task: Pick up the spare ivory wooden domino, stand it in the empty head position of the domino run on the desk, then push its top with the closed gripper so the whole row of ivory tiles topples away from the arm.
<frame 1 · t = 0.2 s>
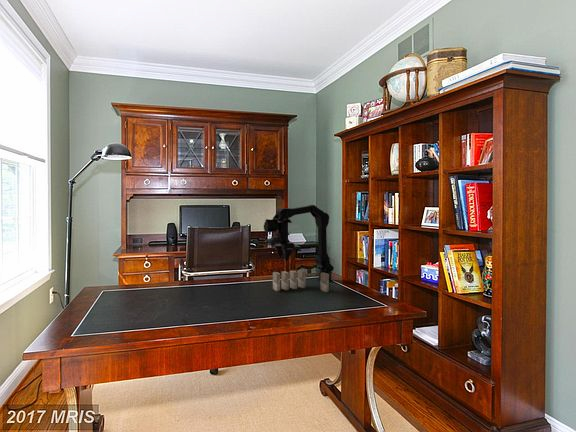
hand: (282, 259, 211), 14 cm above the table, fingers open, 9 cm apart
domino 4: (285, 289, 204), on the table
domino 3: (293, 288, 206), on the table
domino 2: (301, 287, 208), on the table
domino 1: (324, 290, 201), on the table
domino 5: (276, 290, 202), on the table
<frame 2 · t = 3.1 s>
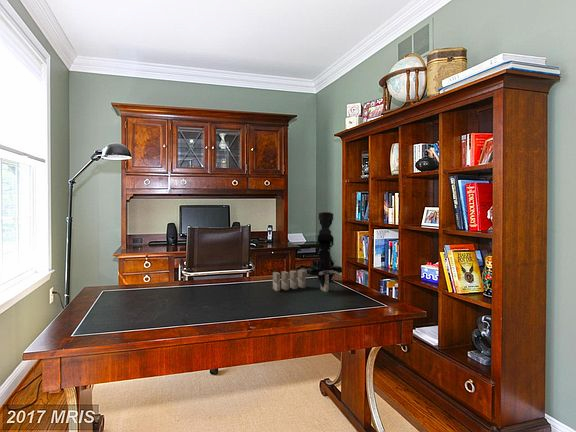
hand: (324, 286, 200), 2 cm above the table, fingers closed on domino 1, 2 cm apart
domino 1: (324, 290, 201), on the table, touching gripper
everything else where it was.
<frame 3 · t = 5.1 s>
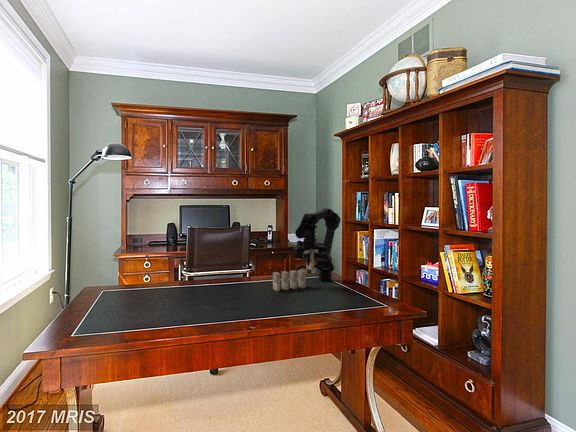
hand: (310, 265, 210), 11 cm above the table, fingers closed on domino 1
domino 1: (310, 269, 210), point 9 cm above the table, touching gripper
everything else where it was.
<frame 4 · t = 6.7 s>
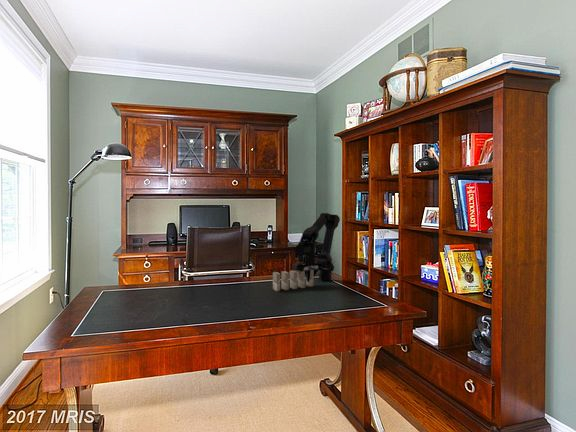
hand: (309, 281, 210), 2 cm above the table, fingers closed on domino 1, 2 cm apart
domino 2: (301, 286, 208), on the table, touching gripper
domino 1: (309, 285, 210), on the table, touching gripper
everything else where it was.
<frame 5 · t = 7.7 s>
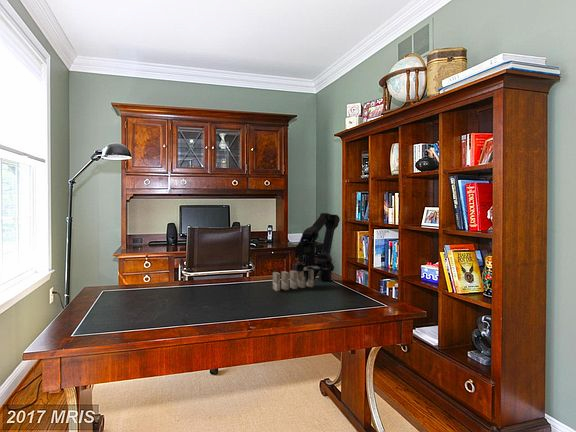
hand: (309, 281, 210), 2 cm above the table, fingers open, 4 cm apart
domino 2: (301, 286, 208), on the table, tilted 9°, touching gripper
domino 1: (309, 286, 210), on the table
everything else where it was.
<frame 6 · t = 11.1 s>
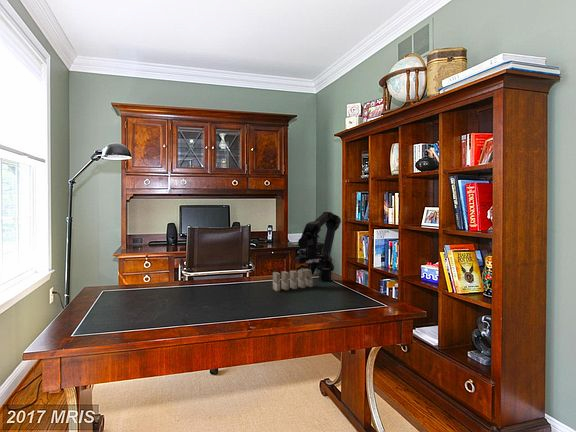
hand: (311, 274, 211), 6 cm above the table, fingers closed
domino 2: (301, 287, 208), on the table
domino 1: (309, 285, 210), on the table, tilted 10°
everything else where it was.
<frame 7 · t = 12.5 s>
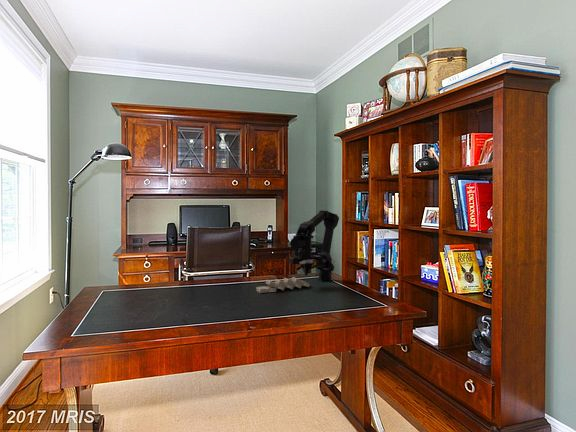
hand: (305, 275, 209), 6 cm above the table, fingers closed
domino 4: (282, 287, 203), point 1 cm above the table, tilted 66°, touching domino 3, domino 5
domino 3: (291, 286, 205), point 1 cm above the table, tilted 67°, touching domino 2, domino 4
domino 2: (299, 285, 208), point 1 cm above the table, tilted 65°, touching domino 1, domino 3
domino 1: (307, 284, 210), point 1 cm above the table, tilted 66°, touching domino 2
domino 5: (274, 288, 201), point 1 cm above the table, tilted 89°, touching domino 4
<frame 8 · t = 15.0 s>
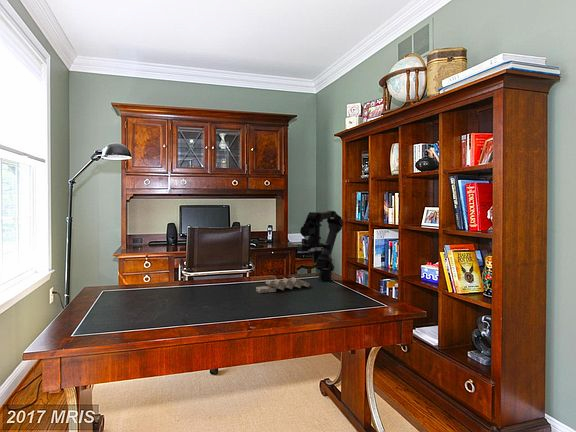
hand: (314, 263, 213), 12 cm above the table, fingers closed
domino 2: (298, 285, 208), point 1 cm above the table, tilted 66°, touching domino 1, domino 3
at the end: domino 5 tilted 89°; domino 1 inside the target area (0.9 cm from its centre), point 0.9 cm above the table; the gripper is holding nothing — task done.
